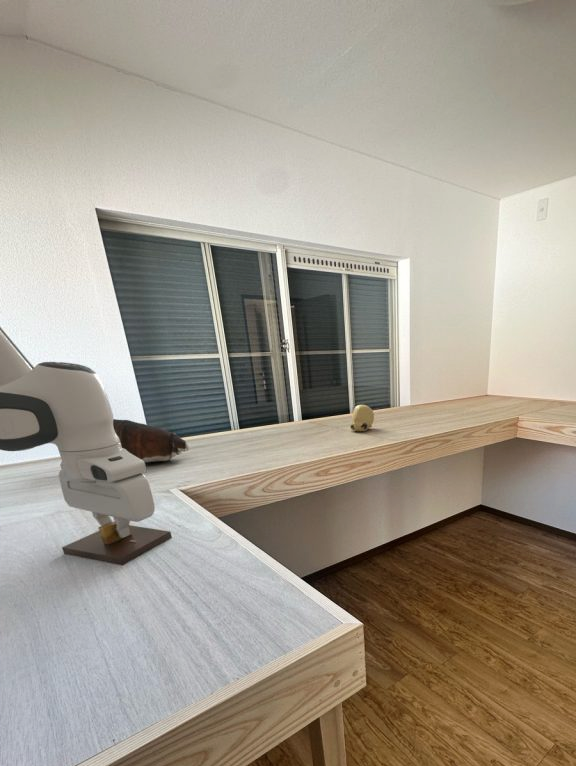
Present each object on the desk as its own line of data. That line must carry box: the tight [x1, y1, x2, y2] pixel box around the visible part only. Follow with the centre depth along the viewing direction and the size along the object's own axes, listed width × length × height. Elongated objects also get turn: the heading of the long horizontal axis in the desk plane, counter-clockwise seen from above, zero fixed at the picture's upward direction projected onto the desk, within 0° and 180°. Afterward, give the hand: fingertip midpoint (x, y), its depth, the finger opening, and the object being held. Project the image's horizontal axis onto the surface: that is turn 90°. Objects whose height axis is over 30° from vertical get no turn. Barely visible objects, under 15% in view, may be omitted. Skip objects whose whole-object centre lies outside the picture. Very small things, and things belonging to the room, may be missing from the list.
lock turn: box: [98, 520, 132, 545], centre depth 76 cm, size 5×1×3 cm, turn 155°
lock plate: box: [61, 524, 173, 566], centre depth 77 cm, size 14×11×3 cm
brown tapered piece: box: [113, 418, 190, 463], centre depth 133 cm, size 15×15×25 cm
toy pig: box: [350, 404, 375, 433], centre depth 176 cm, size 10×12×11 cm
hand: (117, 534), depth 77 cm, fingers closed
